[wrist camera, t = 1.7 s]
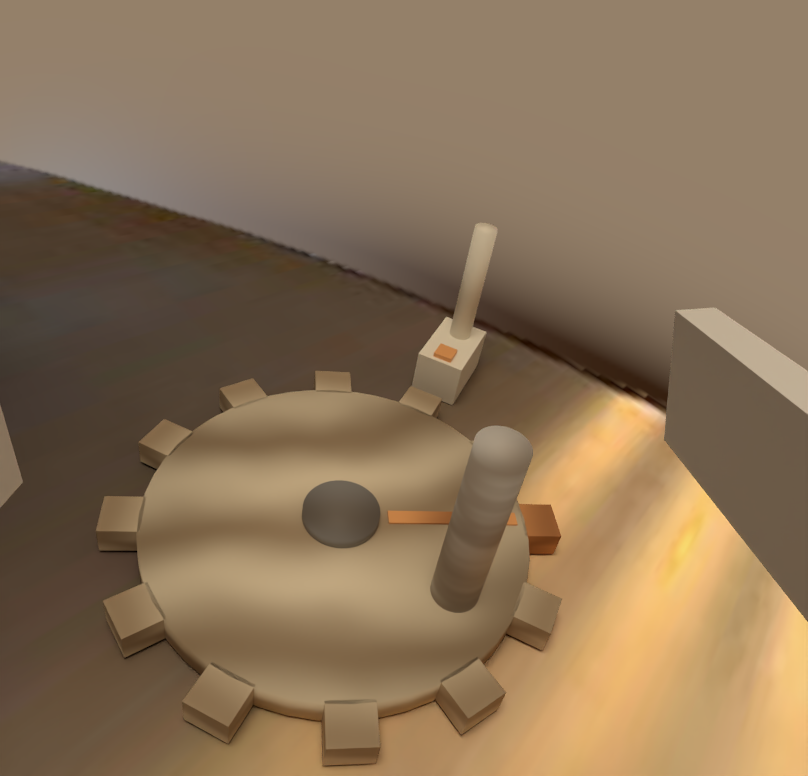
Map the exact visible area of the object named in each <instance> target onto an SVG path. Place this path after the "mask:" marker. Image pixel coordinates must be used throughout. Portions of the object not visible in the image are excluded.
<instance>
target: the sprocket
mask: <svg viewBox="0 0 808 776" xmlns="http://www.w3.org/2000/svg"><path fill="white" fill-rule="evenodd" d="M441 402H442V398H439V397H437V396H434V395H432V394H429V393H427V392H424V391H422V390H419V389H417V388H415V387H412V386H410V388H409V389H408V390H407V392H406V393H405V395H404V396H403V397H402V399H401V400H400V401H399V402H397V401H393V400H389V399H386V398H382V397H378V396H374V395H368V394H362V393H357V392H351V380H350V373H349V372H329V371H315V379H314V390H309V391H297V392H288V393H283V394H277V395H271V396H267V395H266V394H265V393H264V392H263V390H262V389H261V388H260V387H259V385H258V384H257V383H256V382H255V380H254V379H253V378H252V379H249V380H246V381H242V382H239V383H236V384H233V385H229V386H226V387H223V388H220V408H221V410H222V411H223V413H221V414H219V415H217V416H215V417H213V418H212V419H210V420H208V421H207V422H205V423H204V424H202V425H201V426H199V427H198V428H196V429H195V430H194V431H190V430H188V429H185V428H183V427H181V426H179V425H177V424H174V423H172V422H170V421H168V420H165V419H164V420H163V421H161V422H160V423H159V424H158V425H157V426H156V427H155V428H154V429H153V430H152V431H150V432H149V433H148V434H147V435H146V436H145V437H144V438H143V439H142V440H140V441H139V452H140V461H141V462H143V463H145V464H147V465H149V466H151V467H153V468H156V469H157V471H156V472H155V474H154V475H153V477H152V479H151V481H150V484H149V486H148V488H147V490H146V492H145V494H144V497H127V496H105V497H104V501H103V505H102V509H101V512H100V516H99V520H98V524H97V528H96V535H97V541H98V547H99V550H113V551H137V556H138V565H139V573H140V579H141V583H142V584H140V585H138V586H136V587H133V588H131V589H129V590H127V591H124V592H122V593H120V594H117V595H115V596H113V597H110V598H108V599H106V600H103V605H104V610H105V616H106V620H107V622H108V624H109V627H110V629H111V631H112V633H113V635H114V637H115V639H116V641H117V644H118V646H119V648H120V650H121V652H122V654H123V656H124V658H125V657H127V656H129V655H131V654H133V653H135V652H138V651H140V650H142V649H144V648H146V647H148V646H150V645H152V644H154V643H156V642H158V641H160V640H163V639H165V638H166V640H167V641H168V642H169V644H170V645H171V646H172V647H173V648H174V649H175V650H176V652H177V653H178V654H179V655H180V656H181V657H182V659H183V660H184V661H185V662H186V663H187V664H189V665H190V666H191V667H192V668H193V669H195V670H196V671H197V672H198V673H199V674H200V675H201V676H200V677H199V679H198V680H197V682H196V683H195V684H194V686H193V687H192V689H191V690H190V691H189V693H188V694H187V695H186V697H185V698H184V700H183V701H182V708H183V719H184V720H186V721H188V722H190V723H191V724H193V725H195V726H197V727H199V728H200V729H202V730H204V731H206V732H208V733H209V734H211V735H213V736H215V737H217V738H219V739H220V740H222V741H224V742H226V743H229V742H230V740H231V739H232V737H233V736H234V734H235V733H236V731H237V729H238V728H239V726H240V725H241V723H242V722H243V720H244V718H245V717H246V715H247V714H248V712H249V711H250V709H251V708H252V706H253V705H255V706H257V707H260V708H263V709H267V710H270V711H273V712H277V713H280V714H283V715H287V716H293V717H299V718H305V719H311V720H321V721H322V761H323V766H325V765H348V764H370V763H376V760H377V757H378V754H379V750H380V735H379V723H378V718H381V717H385V716H389V715H393V714H398V713H402V712H406V711H408V710H411V709H414V708H416V707H419V706H421V705H424V704H427V703H429V702H432V701H433V700H436V701H437V703H438V704H439V705H440V707H441V708H442V710H443V711H444V712H445V714H446V715H447V716H448V718H449V719H450V720H451V722H452V723H453V724H454V726H455V727H456V729H457V730H458V731H459V733H460V734H461V735H462V734H463V733H465V732H466V731H468V730H469V729H470V728H472V727H473V726H475V725H476V724H477V723H479V722H480V721H482V720H483V719H485V718H486V717H487V716H489V715H490V714H492V713H493V712H494V711H496V710H497V709H498V708H499V706H500V704H501V702H502V700H503V698H504V696H505V694H506V692H505V690H504V689H503V688H502V687H501V686H500V684H499V683H498V682H497V681H496V679H495V678H494V677H493V676H492V674H491V673H490V672H489V671H488V669H487V668H486V667H485V666H484V663H485V662H486V661H487V660H488V659H489V658H490V657H491V656H492V654H493V653H494V651H495V650H496V649H497V647H498V646H499V644H500V643H501V641H502V640H503V638H504V637H505V635H506V634H508V635H510V636H512V637H514V638H516V639H519V640H521V641H523V642H525V643H527V644H529V645H531V646H533V647H536V648H538V649H540V650H543V648H544V646H545V644H546V642H547V640H548V638H549V636H550V634H551V631H552V628H553V625H554V622H555V619H556V616H557V613H558V610H559V606H560V603H561V600H562V599H561V598H559V597H557V596H555V595H552V594H550V593H548V592H546V591H544V590H541V589H539V588H537V587H535V586H533V585H530V584H528V583H527V578H528V569H529V560H530V558H529V554H553V553H554V551H555V549H556V547H557V544H558V542H559V540H560V538H561V535H560V532H559V529H558V526H557V522H556V519H555V516H554V513H553V510H552V507H551V505H532V504H518V501H517V496H518V494H519V491H520V488H521V486H522V483H523V480H524V478H525V475H526V472H527V470H528V467H529V465H530V462H531V459H532V456H533V449H532V446H531V444H530V442H529V441H528V439H527V438H526V437H525V436H523V435H522V434H521V433H519V432H518V431H516V430H514V429H511V428H508V427H504V426H489V427H486V428H483V429H482V430H480V431H479V432H478V433H477V434H476V436H475V439H474V440H473V441H470V440H469V439H467V438H466V437H465V436H463V435H462V434H460V433H459V432H458V431H456V430H455V429H453V428H452V427H450V426H449V425H447V424H445V423H444V422H442V421H440V420H438V419H437V417H438V414H439V410H440V406H441Z"/></svg>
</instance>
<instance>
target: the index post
mask: <svg viewBox="0 0 808 776" xmlns="http://www.w3.org/2000/svg"><path fill="white" fill-rule="evenodd" d="M497 231H498V230H497V228H496V227H495V226H493V225H491V224H488V223H478V224H476V225H475V229H474V233H473V237H472V241H471V245H470V249H469V254H468V258H467V262H466V266H465V270H464V274H463V278H462V283H461V287H460V291H459V295H458V299H457V303H456V308H455V312H454V316H453V319H451V318H448V317H446V318H445V319H444V321H443V322H442V323H441V325H440V326H439V327H438V329H437V330H436V331H435V333H434V334H433V335H432V337H431V338H430V339H429V341H428V342H427V343H426V345H425V346H424V347H423V349H422V350H421V351H420V353H419V355H418V359H417V364H416V369H415V374H414V378H413V383H412V387H415V388H417V389H419V390H422V391H424V392H427V393H429V394H432V395H434V396H437V397H439V398H442V401H443V402H445V403H448V404H450V405H453V404H454V402H455V400H456V399H457V397H458V396H459V394H460V392H461V391H462V389H463V388H464V386H465V384H466V383H467V381H468V380H469V378H470V376H471V375H472V373H473V372H474V370H475V368H476V367H477V364H478V361H479V357H480V354H481V350H482V346H483V343H484V339H485V336H486V332H485V331H482V330H480V329H477V328H474V327H472V326H473V322H474V319H475V315H476V311H477V307H478V303H479V300H480V296H481V292H482V288H483V284H484V281H485V277H486V273H487V269H488V265H489V261H490V258H491V254H492V250H493V246H494V243H495V239H496V235H497Z"/></svg>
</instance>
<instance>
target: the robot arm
mask: <svg viewBox="0 0 808 776" xmlns="http://www.w3.org/2000/svg"><path fill="white" fill-rule="evenodd" d="M664 440H665V441H666V442H667V444H668V445H669V446H670V448H671V449H672V450H673V451H674V453H675V454H676V455H677V456H678V458H679V459H680V460H681V462H682V463H683V464H684V465H685V467H686V468H687V469H688V470H689V472H690V473H691V474H692V475H693V477H694V478H695V479H696V481H697V482H698V483H699V484H700V486H701V487H702V488H703V489H704V491H705V492H706V493H707V495H708V496H709V497H710V498H711V500H712V501H713V502H714V503H715V505H716V506H717V507H718V508H719V510H720V511H721V512H722V514H723V515H724V516H725V517H726V519H727V520H728V521H729V522H730V524H731V525H732V526H733V528H734V529H735V530H736V531H737V533H738V534H739V535H740V536H741V538H742V539H743V540H744V541H745V543H746V544H747V545H748V547H749V548H750V549H751V550H752V552H753V553H754V554H755V555H756V557H757V558H758V559H759V561H760V562H761V563H762V564H763V566H764V567H765V568H766V569H767V571H768V572H769V573H770V574H771V576H772V577H773V578H774V580H775V581H776V582H777V583H778V585H779V586H780V587H781V588H782V590H783V591H784V592H785V594H786V595H787V596H788V597H789V599H790V600H791V601H792V602H793V604H794V605H795V606H796V607H797V609H798V610H799V611H800V613H801V614H802V615H803V616H804V618H805V619H806V620H807V621H808V371H807V370H805V369H804V368H802V367H801V366H799V365H798V364H797V363H795V362H794V361H792V360H791V359H789V358H788V357H786V356H785V355H783V354H782V353H780V352H779V351H778V350H776V349H775V348H773V347H772V346H770V345H769V344H767V343H766V342H765V341H763V340H762V339H760V338H759V337H757V336H756V335H754V334H753V333H751V332H750V331H749V330H747V329H746V328H744V327H743V326H741V325H740V324H738V323H737V322H735V321H734V320H732V319H731V318H729V317H728V316H726V315H725V314H724V313H722V312H721V311H719V310H718V309H716V308H704V309H689V310H676V311H675V322H674V333H673V345H672V356H671V367H670V379H669V390H668V402H667V413H666V425H665V436H664ZM22 482H23V481H22V477H21V474H20V470H19V467H18V464H17V460H16V457H15V453H14V450H13V447H12V443H11V440H10V436H9V433H8V429H7V426H6V423H5V419H4V416H3V412H2V409H1V405H0V507H1V506H2V505H3V504H4V503H5V502H6V501H7V499H8V498H9V497H10V496H11V495H12V494H13V493H14V491H15V490H16V489H17V488H18V487H19V486H20V485H21V483H22Z"/></svg>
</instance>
